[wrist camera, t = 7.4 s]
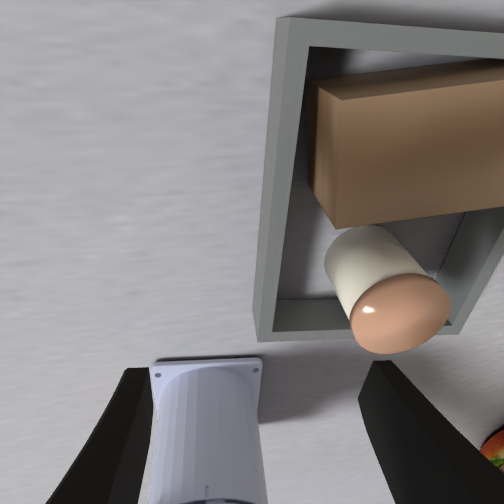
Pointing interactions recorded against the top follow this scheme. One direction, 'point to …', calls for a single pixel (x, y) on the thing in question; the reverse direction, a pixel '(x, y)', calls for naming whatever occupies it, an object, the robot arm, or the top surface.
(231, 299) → the top surface
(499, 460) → the burger
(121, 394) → the robot arm
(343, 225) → the block
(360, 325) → the jar
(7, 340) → the top surface
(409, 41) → the tote
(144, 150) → the top surface
